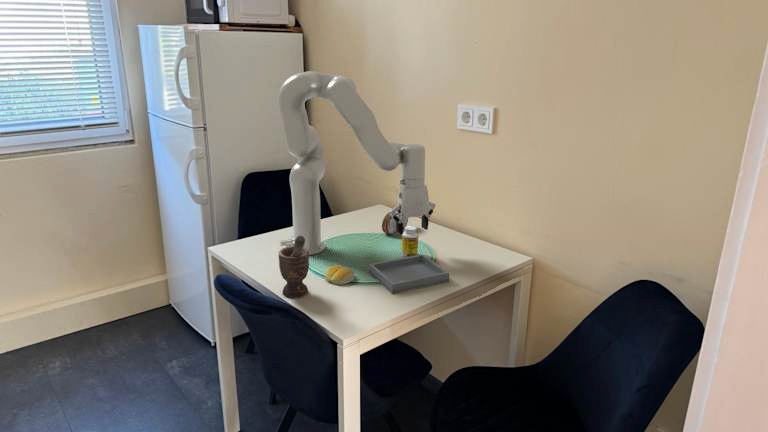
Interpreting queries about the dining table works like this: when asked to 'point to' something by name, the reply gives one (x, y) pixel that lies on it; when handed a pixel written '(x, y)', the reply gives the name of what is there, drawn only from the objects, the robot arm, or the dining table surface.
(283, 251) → the mortar and pestle
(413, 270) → the tray
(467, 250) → the dining table surface
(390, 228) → the tin
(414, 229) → the supplement bottle
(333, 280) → the bread roll
